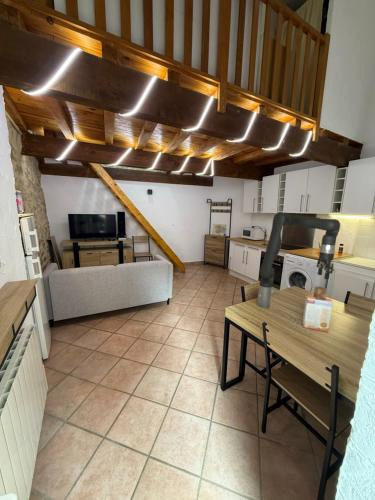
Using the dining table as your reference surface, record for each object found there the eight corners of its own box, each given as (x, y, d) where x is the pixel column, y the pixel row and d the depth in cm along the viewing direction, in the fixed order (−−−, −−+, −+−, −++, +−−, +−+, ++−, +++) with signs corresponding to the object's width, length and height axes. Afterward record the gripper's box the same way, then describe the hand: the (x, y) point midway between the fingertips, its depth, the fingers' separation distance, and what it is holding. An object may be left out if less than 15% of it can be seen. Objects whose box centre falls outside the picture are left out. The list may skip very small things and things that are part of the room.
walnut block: (316, 299, 127) (318, 289, 126) (313, 296, 132) (314, 286, 131) (325, 300, 127) (327, 289, 126) (321, 297, 132) (323, 286, 130)
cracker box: (325, 328, 134) (330, 298, 130) (328, 332, 128) (333, 302, 124) (301, 323, 139) (306, 294, 135) (303, 327, 133) (307, 298, 129)
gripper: (315, 249, 131) (311, 273, 134) (326, 253, 117) (322, 280, 120) (327, 250, 130) (323, 274, 133) (340, 254, 116) (335, 281, 119)
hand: (322, 276), depth 127 cm, fingers open, 8 cm apart
